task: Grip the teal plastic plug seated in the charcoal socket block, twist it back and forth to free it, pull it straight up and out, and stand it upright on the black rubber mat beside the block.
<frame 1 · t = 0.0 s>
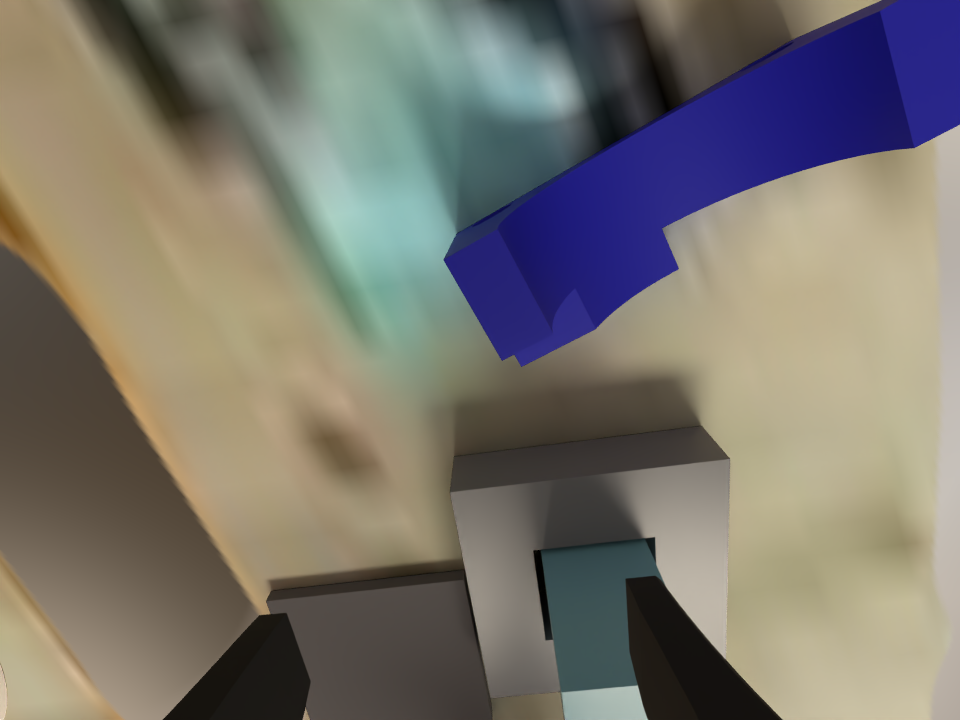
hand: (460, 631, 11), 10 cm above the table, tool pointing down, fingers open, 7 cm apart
cable clip: (637, 204, 18), on the table
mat: (387, 653, 25), on the table
plug: (606, 621, 19), in the socket block
socket block: (586, 547, 22), on the table
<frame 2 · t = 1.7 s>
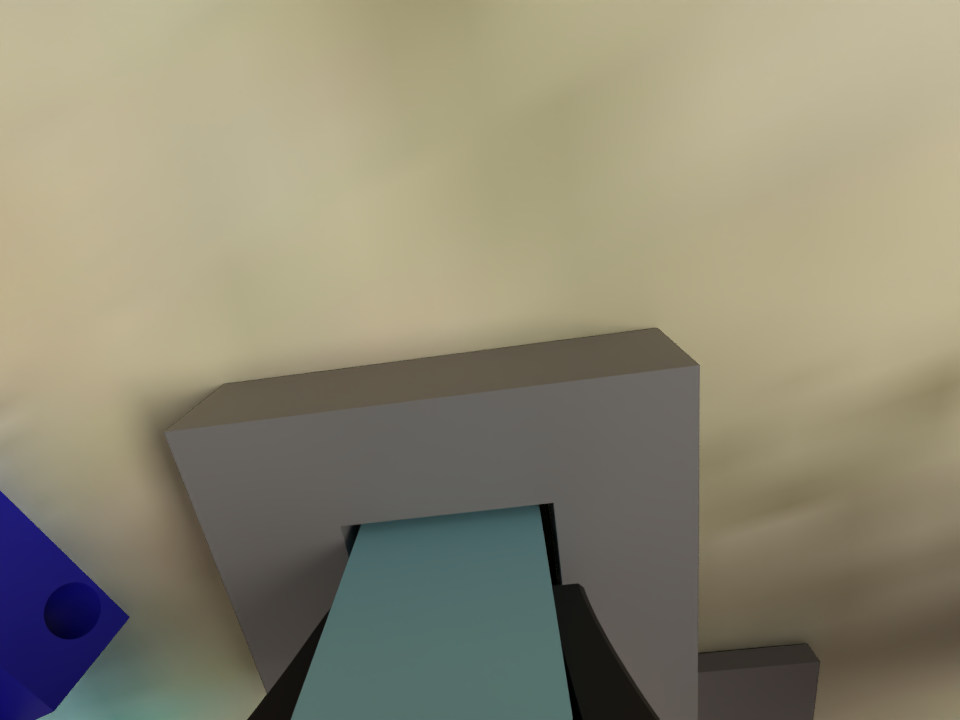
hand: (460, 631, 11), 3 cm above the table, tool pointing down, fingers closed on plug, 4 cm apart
plug: (458, 656, 10), in the socket block, touching gripper
socket block: (466, 527, 14), on the table
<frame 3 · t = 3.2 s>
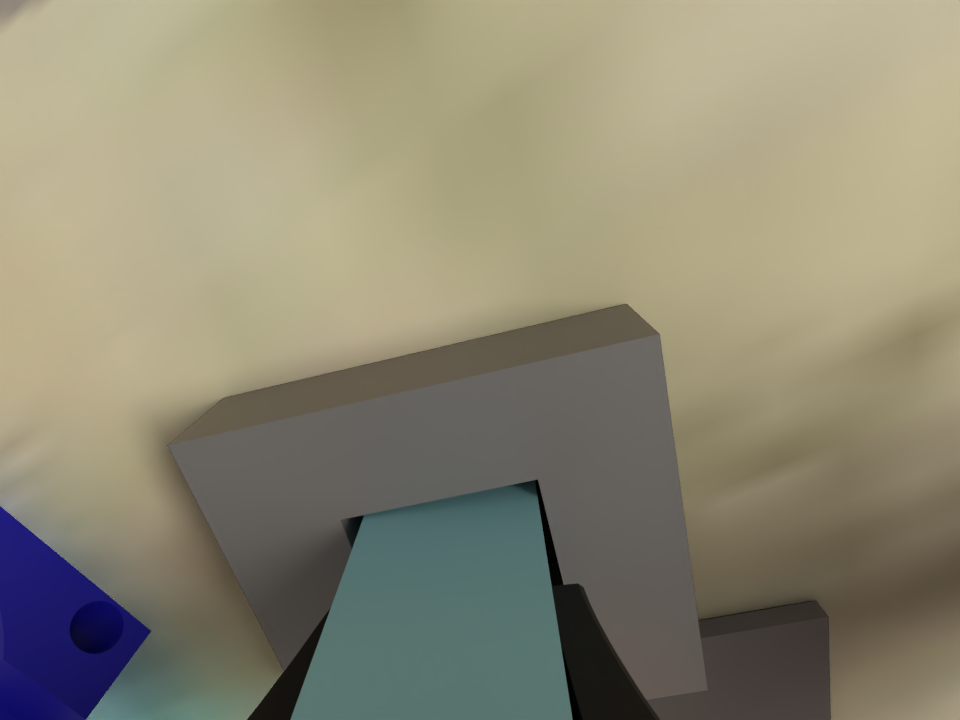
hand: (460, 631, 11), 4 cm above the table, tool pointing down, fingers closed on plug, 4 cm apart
plug: (458, 656, 10), in the socket block, point 5 cm above the table, touching gripper
socket block: (466, 513, 14), on the table
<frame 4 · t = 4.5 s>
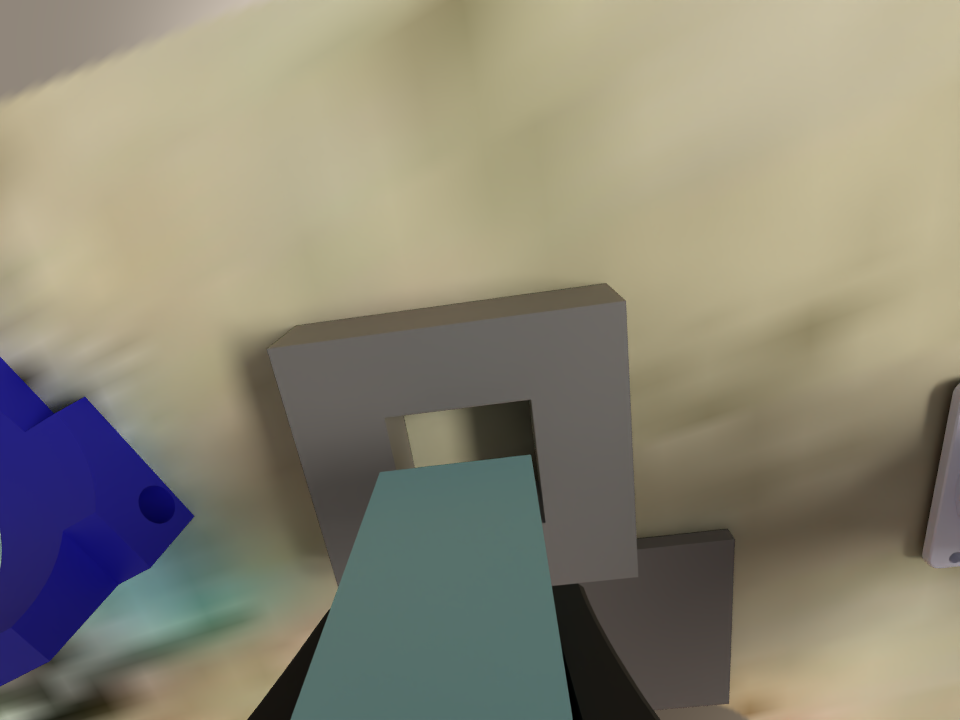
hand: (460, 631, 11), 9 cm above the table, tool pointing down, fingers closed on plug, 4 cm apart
cable clip: (49, 419, 19), on the table
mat: (618, 625, 22), on the table
plug: (458, 655, 10), point 9 cm above the table, touching gripper
socket block: (470, 435, 19), on the table
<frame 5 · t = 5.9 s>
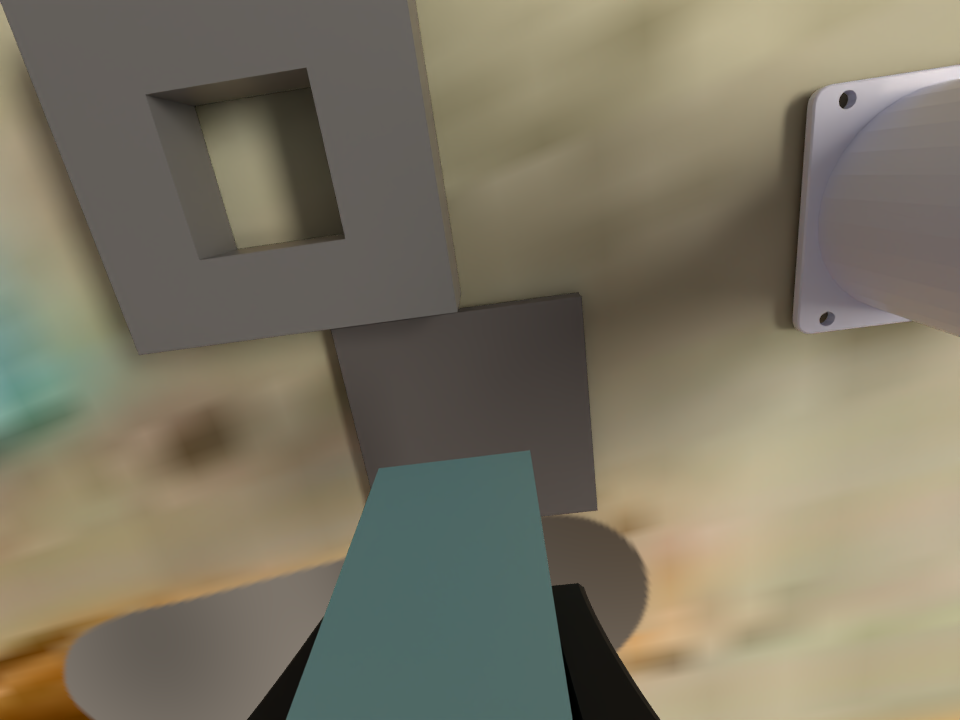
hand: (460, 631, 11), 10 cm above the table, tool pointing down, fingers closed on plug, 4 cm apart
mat: (473, 418, 20), on the table
plug: (457, 651, 10), point 10 cm above the table, touching gripper
socket block: (282, 170, 17), on the table
when the fingers open (5 cm above the table, at t = 7.3 s): plug drops 1 cm, resting on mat.
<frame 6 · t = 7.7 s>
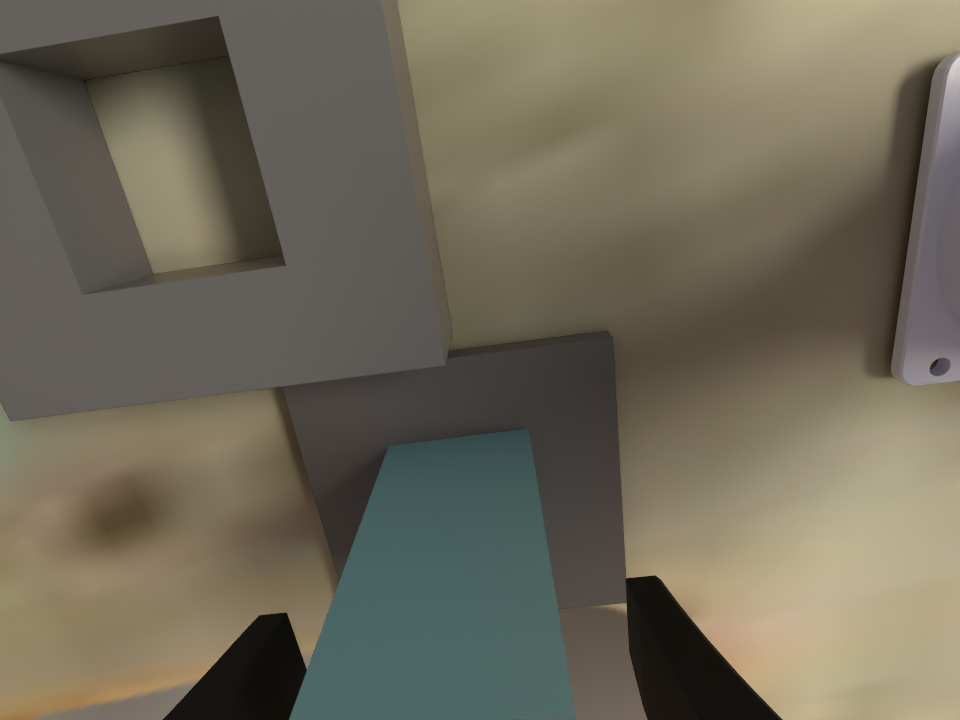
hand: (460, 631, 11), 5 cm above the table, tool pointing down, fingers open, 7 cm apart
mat: (468, 488, 16), on the table
plug: (462, 604, 11), on the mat, point 5 cm above the table
socket block: (208, 169, 13), on the table
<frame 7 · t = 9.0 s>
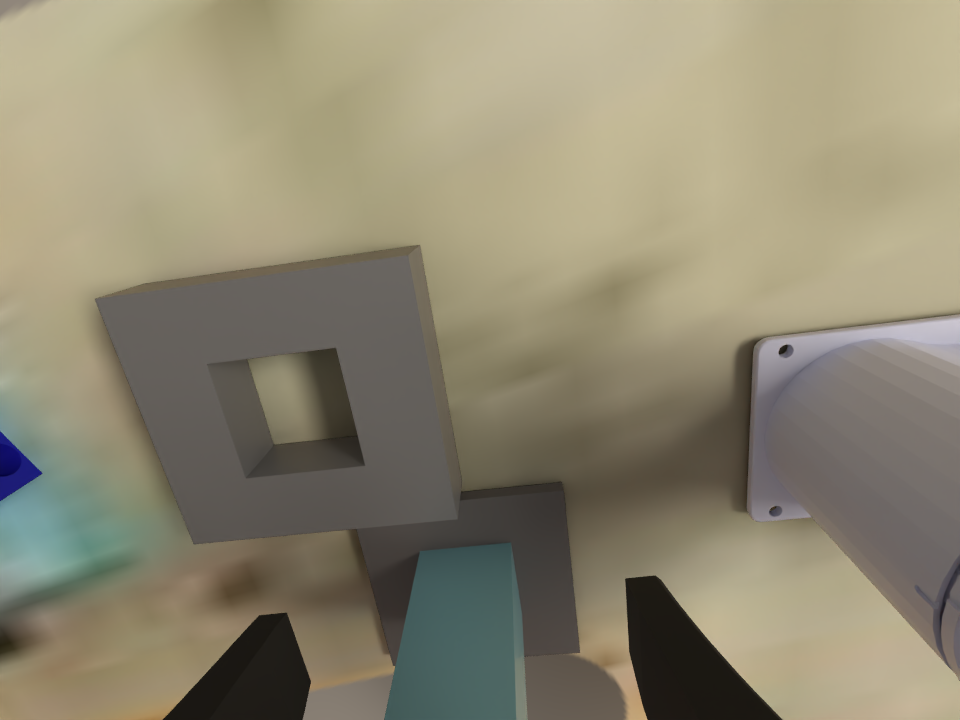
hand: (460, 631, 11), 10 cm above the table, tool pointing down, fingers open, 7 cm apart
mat: (472, 575, 23), on the table
plug: (466, 663, 19), on the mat, point 5 cm above the table
socket block: (312, 388, 20), on the table
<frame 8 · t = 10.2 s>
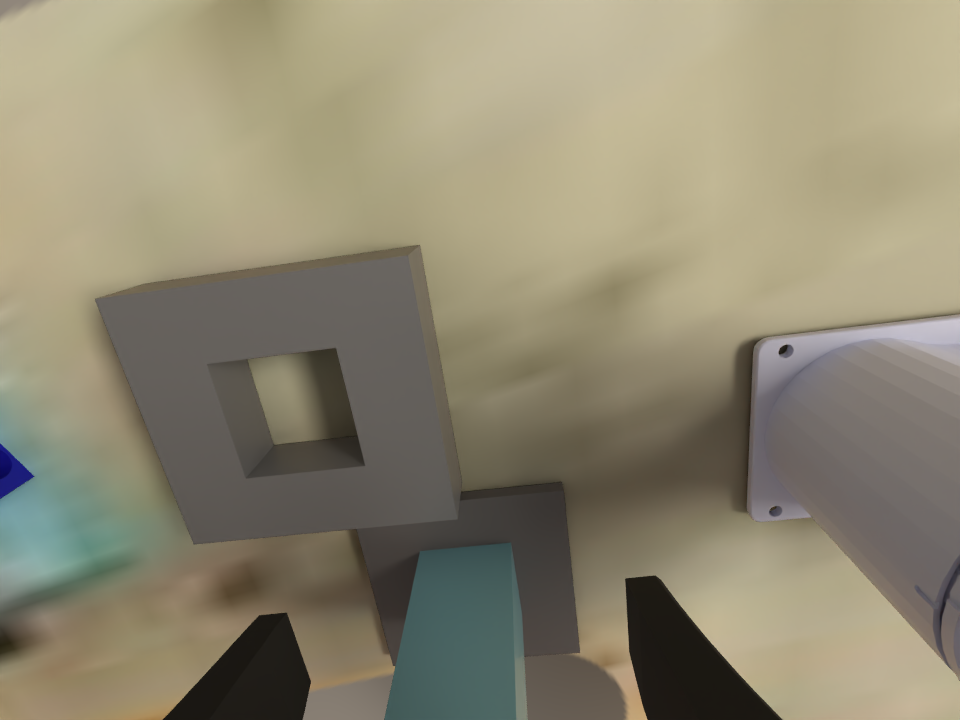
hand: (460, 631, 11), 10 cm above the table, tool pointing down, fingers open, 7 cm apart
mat: (472, 575, 23), on the table
plug: (466, 664, 19), on the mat, point 5 cm above the table
socket block: (312, 388, 20), on the table
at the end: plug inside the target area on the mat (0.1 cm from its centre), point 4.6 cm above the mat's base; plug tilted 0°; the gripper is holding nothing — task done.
